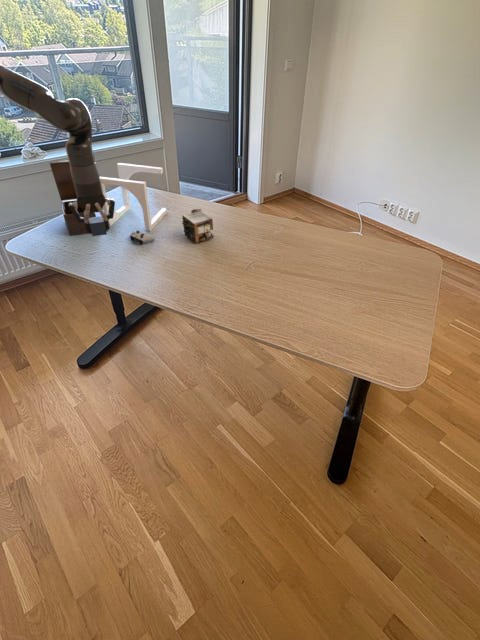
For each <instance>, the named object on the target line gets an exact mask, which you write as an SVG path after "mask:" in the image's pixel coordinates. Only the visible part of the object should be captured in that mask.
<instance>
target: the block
mask: <svg viewBox="0 0 480 640" xmlns="http://www.w3.org/2000/svg"><path fill="white" fill-rule="evenodd" d="M89 224H90V227H91V231H92V234H91V236H92V237H98V236H105V235H107V234H108V232H106V228H105V224H104V220H103V217H102V216H101V215H100V216H96V217H93V218H89Z"/></svg>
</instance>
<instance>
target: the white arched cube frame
mask: <svg viewBox="0 0 480 640" xmlns="http://www.w3.org/2000/svg"><path fill="white" fill-rule="evenodd" d="M116 167H117V174H118V178H116V177H109V176H108V177H107V176H100V182H101V187H102V192H103V195H104V197H105V198H108V196H107V191H106V185H108V186H109V185H110V186H117V187H120V189H121V195H122V202H123V205H122V206H121V207H120V208H118V210H116V211H115V210H114V215H113V218H112V219H109V220H108V223H109V227H111V226H112V225H114V224H115V223H116V222H117V221H118V220H119V219H120V218H121V217H122V216H124V215H125V214H126V213H127V212H128V211H130V209H131V208H132V207H131V201H130V195H129V192H130V193H131V194H132V195H133V196H134V197H135V198H136V199H137V202H138V203H139V204H140V208H141V211H142V214H143V221H144V222H143V223H144V229H145V232H150V233H151V232H152V230H153V229H154V228H155V227H157V225H158V224H159V222H160V221H162V220H163V218H164V217H165V215H166V214H167V213H168V209H167V208H166V207H162V208H161V209H160V210H159V211H158V212H157V213H156V214H155V215H154V216H153V218H151V211H150V204H149V197H148V196H149V195H148V188H147V182H146V181H141V180H132V179H130V178H131V177H132V176H133V175H134V174H136V173H150V174H157V175H162V174H163V173H164V167H159V166H151V165H143V164H132V163H126V162H125V163H124V162H117V164H116ZM103 210H104V212H105V214H108V211H109V206H108V204H107V202H105V204H104V206H103Z"/></svg>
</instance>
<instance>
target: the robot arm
mask: <svg viewBox="0 0 480 640" xmlns="http://www.w3.org/2000/svg"><path fill="white" fill-rule="evenodd" d="M0 94H1V95H2V96H3V97H5V98H6V99H8V100H9V101H10V102H12V103H14V104H16V105H17V106H20V107H21V108H23V109H25V110H27V111H29V112H32V113H34V114H35V115H38V116H39V117H40V118H41V119H43V120H44V121H46V122H47V123H48V124H50V126H52V127H53V128H55V129H57V130H59V131H61V132H64V133H68V139H67V141H66V142H65V152H66V157H67V159H68V160H67V161H69V164H70V171H71V175H72V180H73V183H74V187H75V191H76V194H77V199H75V200H76V202H73V203H71V202H70V203H69V208H70V210H71V211H72V213H73V214H74V216H75V218H76V219H77V221H78V222H79V223H81V222H83V223H85V226H86V230H87V232H90V233H89V235H92V231H91V227H90V224H89V213H93V212H95V213H99V214H100V217H101V216H102V217H103V220H104V224H105V228H106V233H108V232H109V230H110V229H111V228H110V227H111V226H109V223H108V220H109V219H112V218H113V215H114V211H115V208H116V207H115V205H116V201H115V198H113V197H111V198H108V197H107V198H105V197H104V195H103V192H102V187H101V182H100V177H101V176H100V174H99V173H100V172H99V168H98V166H97V163H96V158H95V154H94V149H93V126H92V125H93V124H92V117H91V114H90V111H89V109H88V107H87V105H86V104H85V103H84V102H83V101H82V100H80V99H78V98H73V97H72V98H68V99H65V100H59V99H56V98H55V97H54V96H53V93H52V92H51V90H49V89H48V88H47V87H46V86H44V85H42V84H41V83H38V82H36V81H34V80H32V79H30V78H28V77H26V76H24V75H22V74H20V73H18V72H16V71H14V70H11V69H10V68H8V67H6V66H4V65H2V64H0ZM105 202H107V204H108V206H109V211H108V214H105V212H104V210H103V206H104V204H105ZM78 205H79V206H80V207H81V208H82V209H84V217H81V216H80V215H79V213H78V211H77V209H78V208H77V206H78Z"/></svg>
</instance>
